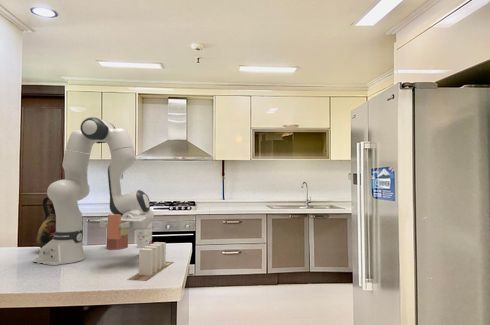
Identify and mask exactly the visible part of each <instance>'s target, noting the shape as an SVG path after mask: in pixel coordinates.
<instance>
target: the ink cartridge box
mask: <svg viewBox="0 0 490 325" xmlns="http://www.w3.org/2000/svg"><path fill="white" fill-rule="evenodd" d="M152 223H153V221H152V222H151V223H150V224H149V225H148V228H147V229H137V230H136V241H137V242H136V245H137V246H136V248H137V249H141V248H142V249H144V247H146V246H149V245H150V244H153V225H152Z"/></svg>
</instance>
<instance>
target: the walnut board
mask: <svg viewBox="0 0 490 325" xmlns="http://www.w3.org/2000/svg"><path fill="white" fill-rule="evenodd" d="M174 263H175V262H174V261H166V266H164V267H161V269H157V272H153V274H152V275H139V272H138V273H136V274H133V275H132V276H131V277H129V278H128V279H127V281H139V282H147V281H149V280H150V279H152V278H153V277H155V276H156V275H157V274H159V273H160V272H162V271H164V270H165V269H167V268H168V267H169V266H171V265H172V264H174Z"/></svg>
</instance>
